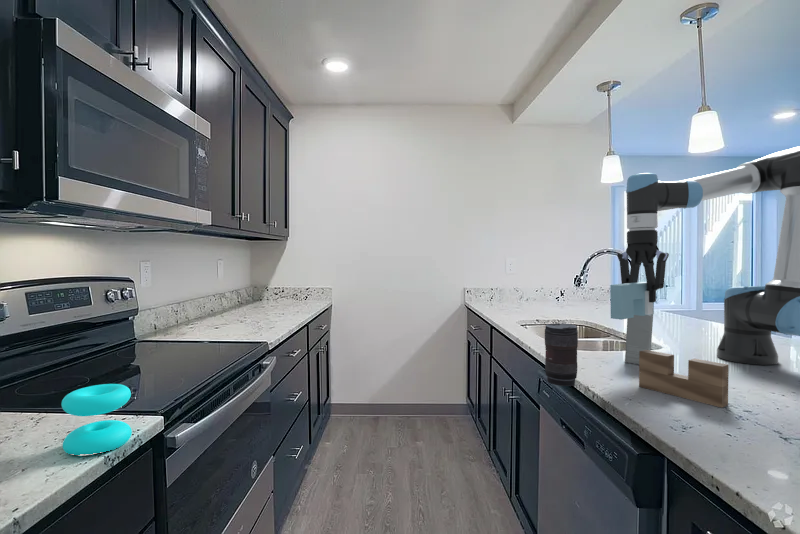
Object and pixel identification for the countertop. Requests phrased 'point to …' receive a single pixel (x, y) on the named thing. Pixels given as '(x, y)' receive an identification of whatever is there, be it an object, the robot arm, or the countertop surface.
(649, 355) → the walnut notched block
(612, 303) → the light blue notched block
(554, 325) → the camera lens
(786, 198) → the robot arm
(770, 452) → the countertop surface
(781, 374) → the countertop surface
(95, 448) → the donuts
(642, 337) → the skincare box
